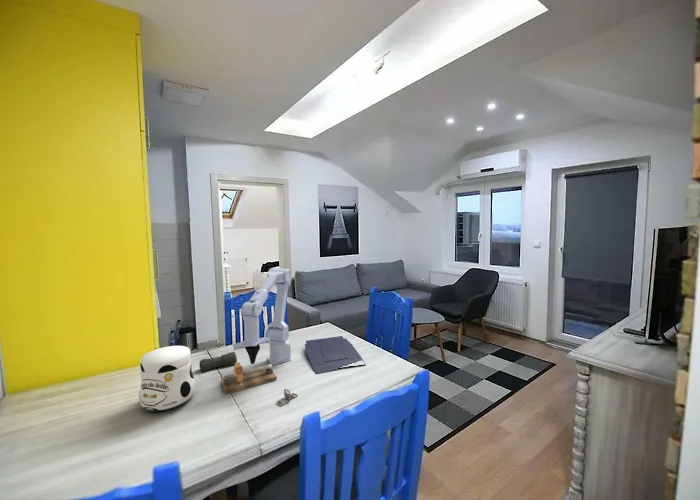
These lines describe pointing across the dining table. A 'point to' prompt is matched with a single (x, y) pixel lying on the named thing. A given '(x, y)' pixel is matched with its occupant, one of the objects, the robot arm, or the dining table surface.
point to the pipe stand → (248, 379)
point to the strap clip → (286, 398)
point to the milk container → (166, 378)
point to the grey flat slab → (331, 353)
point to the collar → (238, 372)
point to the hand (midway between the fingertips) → (252, 362)
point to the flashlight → (218, 361)
